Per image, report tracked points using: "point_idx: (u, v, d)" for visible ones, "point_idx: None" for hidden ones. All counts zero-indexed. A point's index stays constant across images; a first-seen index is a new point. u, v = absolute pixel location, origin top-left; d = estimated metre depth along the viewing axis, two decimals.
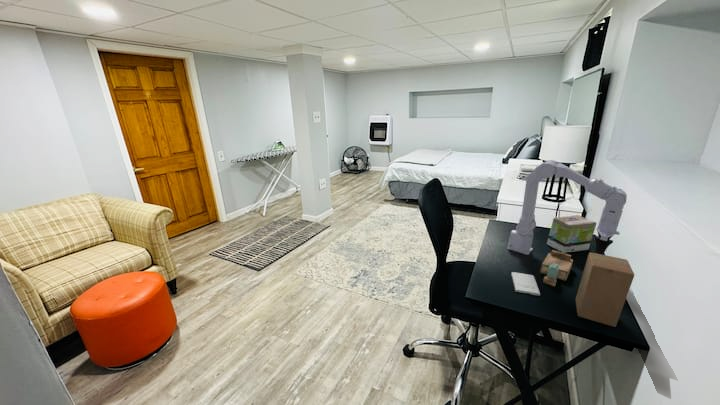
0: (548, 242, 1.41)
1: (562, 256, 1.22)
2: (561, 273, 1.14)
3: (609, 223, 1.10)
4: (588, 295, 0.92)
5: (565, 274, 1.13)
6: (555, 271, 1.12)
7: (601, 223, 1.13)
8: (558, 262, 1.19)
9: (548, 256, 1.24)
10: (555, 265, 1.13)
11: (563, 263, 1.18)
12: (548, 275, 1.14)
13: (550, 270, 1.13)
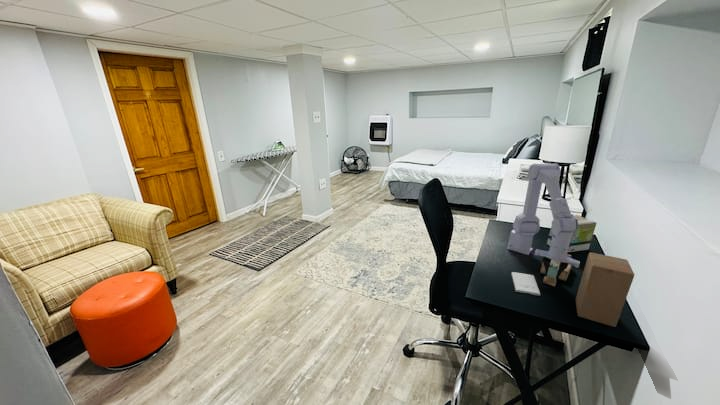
0: (548, 242, 1.41)
1: None
2: (561, 273, 1.14)
3: (550, 245, 1.11)
4: (588, 295, 0.92)
5: (565, 274, 1.13)
6: (555, 271, 1.12)
7: None
8: (558, 262, 1.19)
9: None
10: (555, 265, 1.13)
11: None
12: (548, 275, 1.14)
13: (550, 270, 1.13)
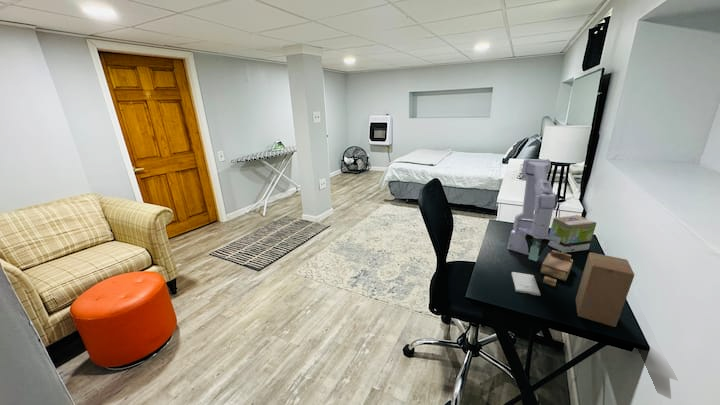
0: None
1: (562, 256, 1.22)
2: (561, 273, 1.14)
3: (532, 222, 1.14)
4: (588, 295, 0.92)
5: (565, 274, 1.13)
6: (537, 249, 1.14)
7: None
8: (558, 262, 1.19)
9: (548, 256, 1.24)
10: (537, 243, 1.15)
11: (563, 263, 1.18)
12: (530, 254, 1.16)
13: (532, 248, 1.15)
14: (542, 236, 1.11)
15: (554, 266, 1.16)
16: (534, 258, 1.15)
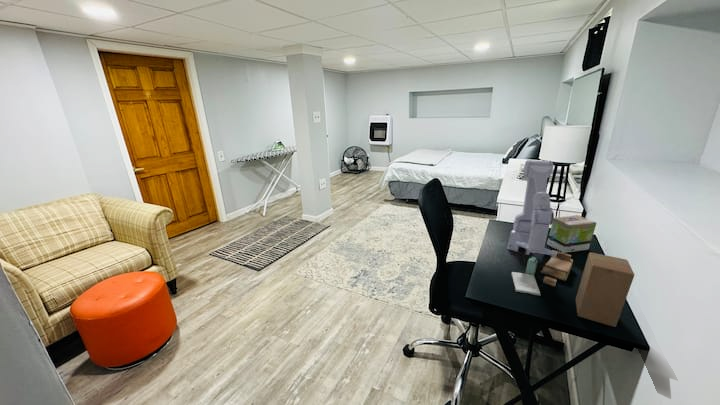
0: (548, 242, 1.41)
1: (562, 256, 1.22)
2: (561, 273, 1.14)
3: (529, 237, 1.16)
4: (588, 295, 0.92)
5: (565, 274, 1.13)
6: (533, 264, 1.16)
7: None
8: (558, 262, 1.19)
9: None
10: (534, 259, 1.17)
11: (563, 263, 1.18)
12: (527, 268, 1.18)
13: (529, 263, 1.17)
14: (539, 251, 1.13)
15: (554, 266, 1.16)
16: (531, 273, 1.18)
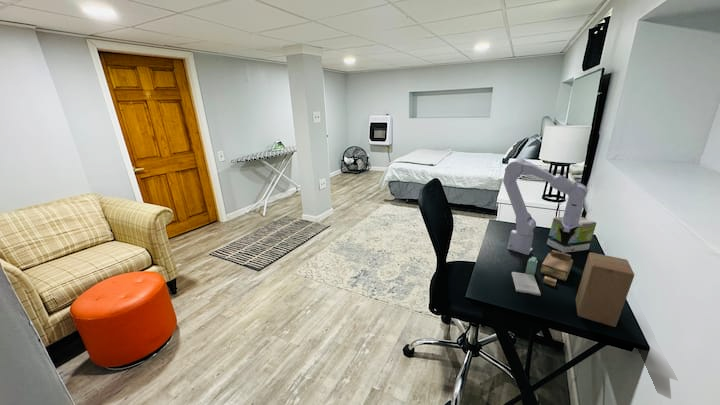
0: (548, 242, 1.41)
1: (562, 256, 1.22)
2: (561, 273, 1.14)
3: (571, 216, 1.18)
4: (588, 295, 0.92)
5: (565, 274, 1.13)
6: (533, 264, 1.16)
7: (565, 216, 1.20)
8: (558, 262, 1.19)
9: (548, 256, 1.24)
10: (534, 259, 1.17)
11: (563, 263, 1.18)
12: (527, 268, 1.18)
13: (529, 263, 1.17)
14: None
15: (554, 266, 1.16)
16: (531, 273, 1.18)
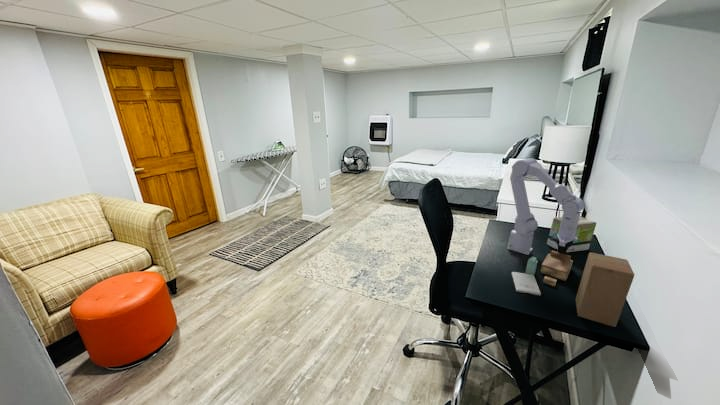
0: (548, 242, 1.41)
1: (562, 257, 1.21)
2: (561, 273, 1.14)
3: (567, 230, 1.17)
4: (588, 295, 0.92)
5: (565, 274, 1.13)
6: (533, 264, 1.16)
7: (560, 229, 1.19)
8: (558, 263, 1.18)
9: (548, 257, 1.23)
10: (534, 259, 1.17)
11: (563, 264, 1.18)
12: (527, 268, 1.18)
13: (529, 263, 1.17)
14: None
15: (554, 267, 1.16)
16: (531, 273, 1.18)
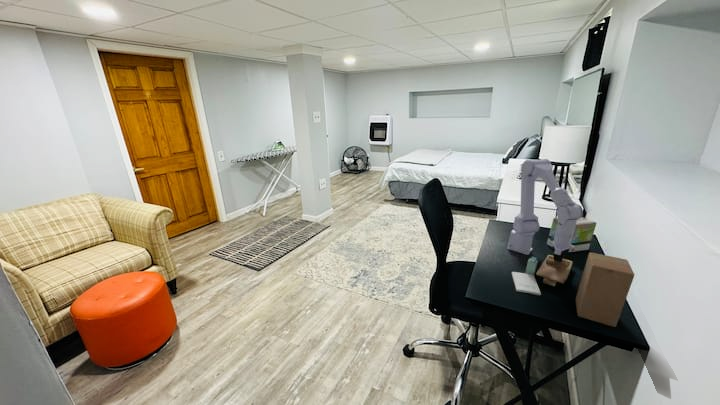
0: (548, 242, 1.41)
1: (558, 265, 1.16)
2: None
3: (563, 237, 1.11)
4: (588, 295, 0.92)
5: None
6: (533, 264, 1.16)
7: (556, 237, 1.13)
8: (554, 272, 1.13)
9: (543, 265, 1.17)
10: (534, 259, 1.17)
11: (559, 273, 1.12)
12: (527, 268, 1.18)
13: (529, 263, 1.17)
14: None
15: (549, 276, 1.10)
16: (531, 273, 1.18)
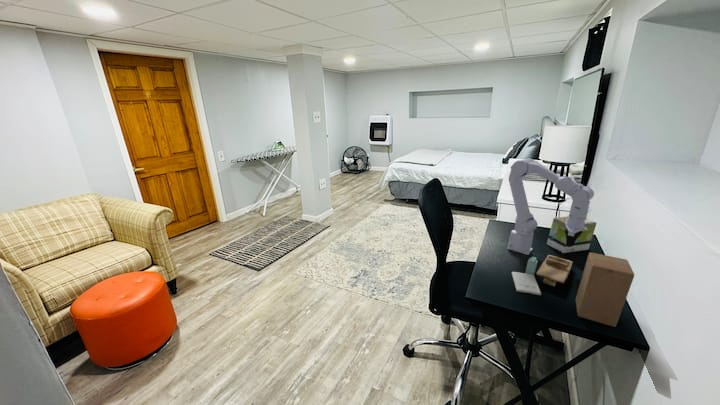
0: (548, 242, 1.41)
1: (558, 265, 1.16)
2: None
3: (576, 219, 1.15)
4: (588, 295, 0.92)
5: None
6: (533, 264, 1.16)
7: (569, 219, 1.17)
8: (554, 272, 1.13)
9: (543, 264, 1.17)
10: (534, 259, 1.17)
11: (559, 272, 1.12)
12: (527, 268, 1.18)
13: (529, 263, 1.17)
14: None
15: (549, 276, 1.10)
16: (531, 273, 1.18)
